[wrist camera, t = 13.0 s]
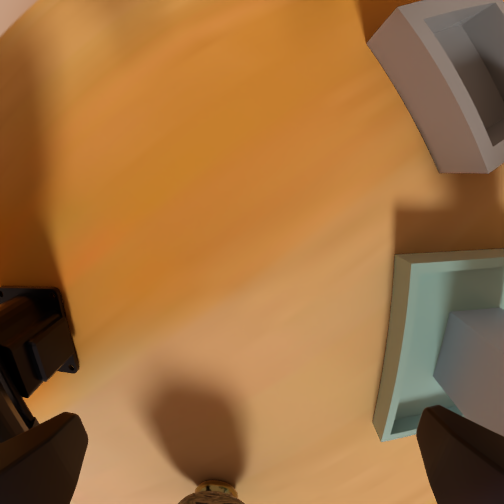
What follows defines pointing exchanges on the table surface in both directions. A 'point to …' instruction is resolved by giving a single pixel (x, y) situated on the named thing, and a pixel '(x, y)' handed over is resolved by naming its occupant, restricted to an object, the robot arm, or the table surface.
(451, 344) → the block
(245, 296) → the table surface
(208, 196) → the table surface
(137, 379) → the table surface
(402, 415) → the tray
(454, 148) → the holder
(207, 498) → the cup
